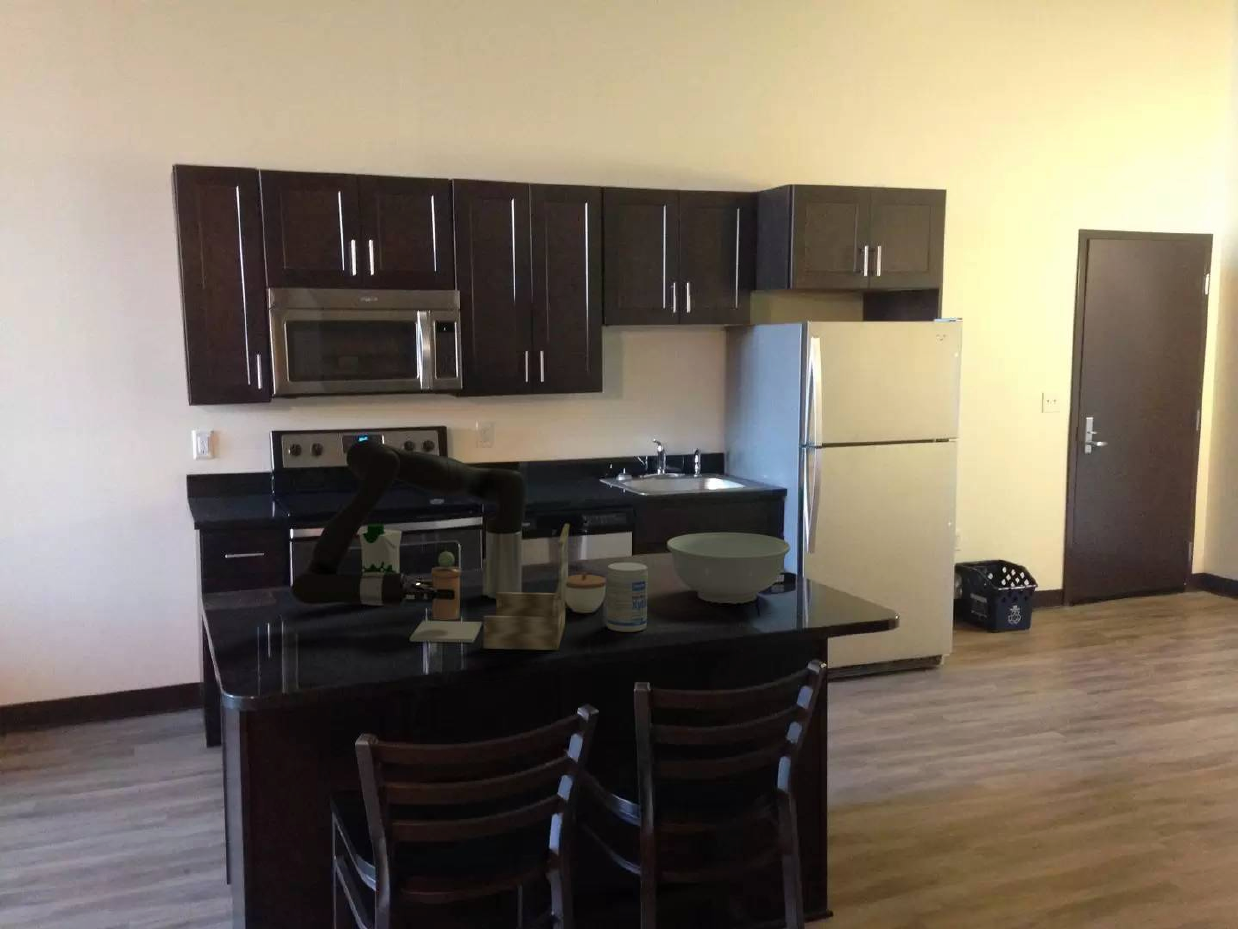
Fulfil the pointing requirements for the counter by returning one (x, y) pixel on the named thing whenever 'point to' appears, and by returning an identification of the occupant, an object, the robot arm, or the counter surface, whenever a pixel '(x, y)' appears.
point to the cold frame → (530, 614)
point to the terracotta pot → (446, 587)
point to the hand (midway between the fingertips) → (457, 591)
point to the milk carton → (380, 549)
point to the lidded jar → (584, 592)
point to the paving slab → (446, 631)
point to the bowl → (728, 564)
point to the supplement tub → (627, 597)
